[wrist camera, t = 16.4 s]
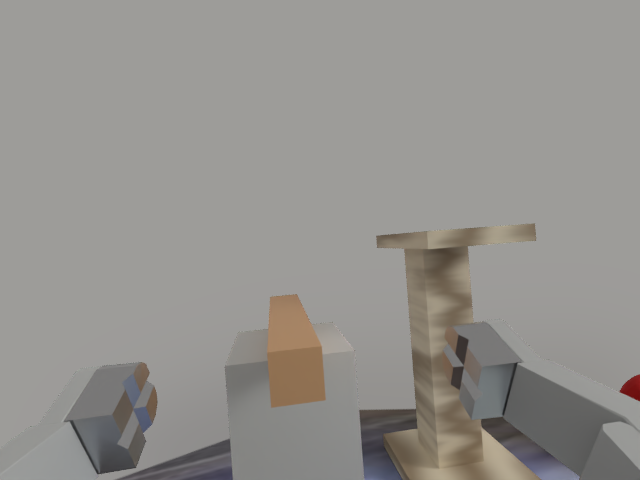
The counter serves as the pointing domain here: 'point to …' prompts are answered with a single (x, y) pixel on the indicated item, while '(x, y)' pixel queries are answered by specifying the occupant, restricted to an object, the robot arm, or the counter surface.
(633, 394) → the fruit
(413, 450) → the tall stand
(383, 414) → the counter surface
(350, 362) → the pedestal
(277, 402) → the bar
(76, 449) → the robot arm
